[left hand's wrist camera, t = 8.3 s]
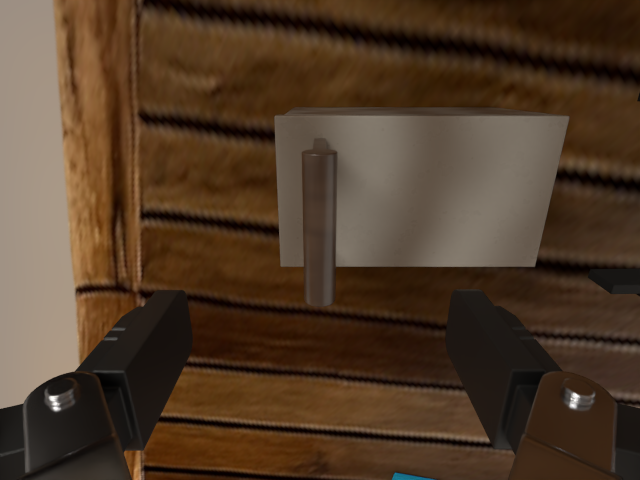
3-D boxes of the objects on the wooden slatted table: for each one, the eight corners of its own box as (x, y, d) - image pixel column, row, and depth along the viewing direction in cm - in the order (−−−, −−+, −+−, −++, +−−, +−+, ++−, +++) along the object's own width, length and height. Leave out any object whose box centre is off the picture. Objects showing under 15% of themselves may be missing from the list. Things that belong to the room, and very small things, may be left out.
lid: (282, 260, 27) (267, 325, 19) (276, 114, 23) (255, 127, 16) (526, 260, 27) (605, 326, 19) (558, 114, 23) (670, 127, 16)
